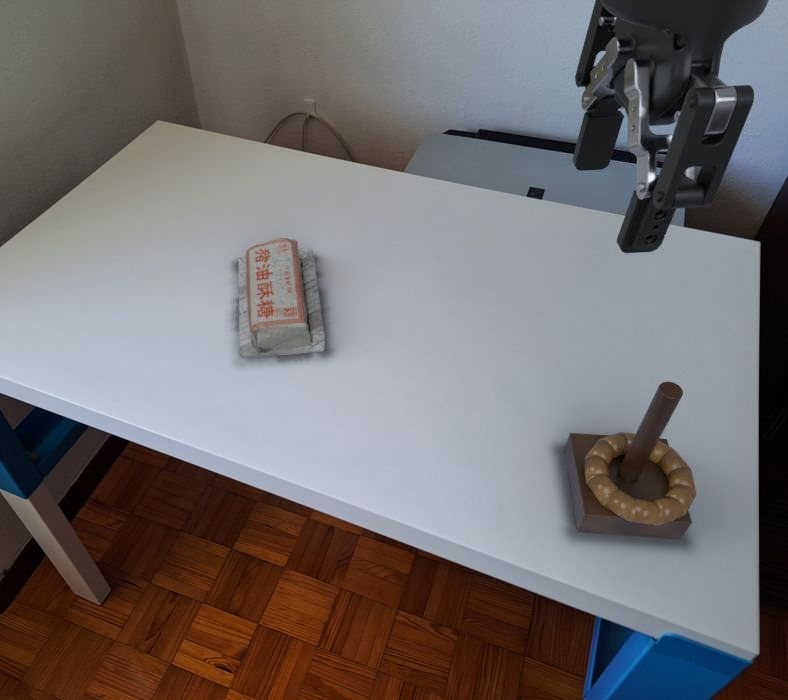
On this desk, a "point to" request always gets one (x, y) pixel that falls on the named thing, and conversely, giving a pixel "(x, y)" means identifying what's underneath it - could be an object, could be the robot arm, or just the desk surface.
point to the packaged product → (279, 301)
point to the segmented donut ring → (625, 504)
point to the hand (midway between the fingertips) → (610, 205)
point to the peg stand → (627, 474)
